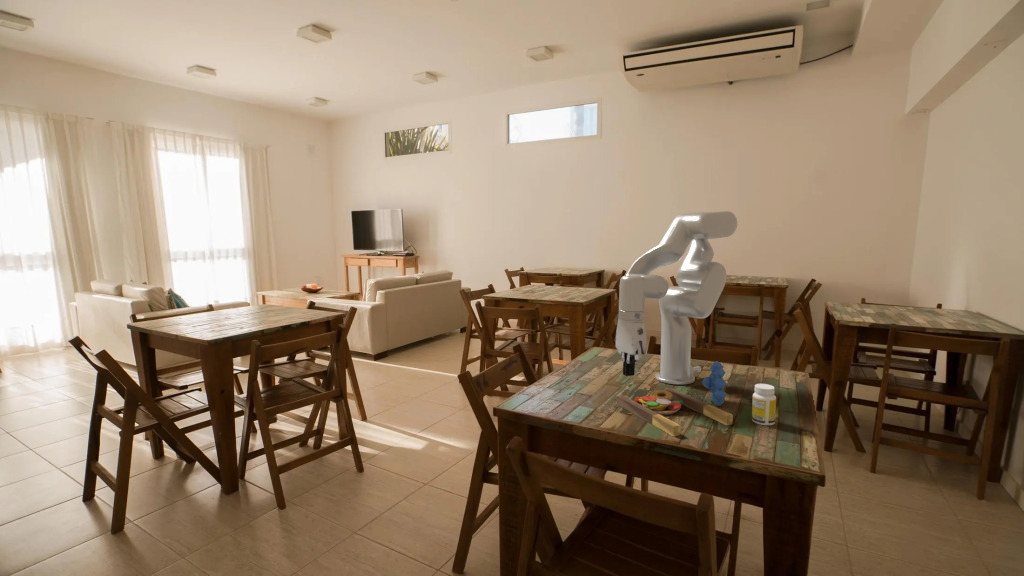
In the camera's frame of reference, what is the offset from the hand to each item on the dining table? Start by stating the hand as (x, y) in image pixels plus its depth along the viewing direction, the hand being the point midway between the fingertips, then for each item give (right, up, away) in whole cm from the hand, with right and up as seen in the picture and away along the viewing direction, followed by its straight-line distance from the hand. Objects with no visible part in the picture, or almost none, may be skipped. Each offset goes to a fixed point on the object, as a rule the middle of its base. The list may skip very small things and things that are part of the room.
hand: (628, 375), depth 145 cm
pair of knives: (+8, -8, -16) cm, 19 cm away
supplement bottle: (+30, -8, -22) cm, 38 cm away
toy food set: (+6, -8, -11) cm, 14 cm away
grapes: (+23, -7, -8) cm, 25 cm away
